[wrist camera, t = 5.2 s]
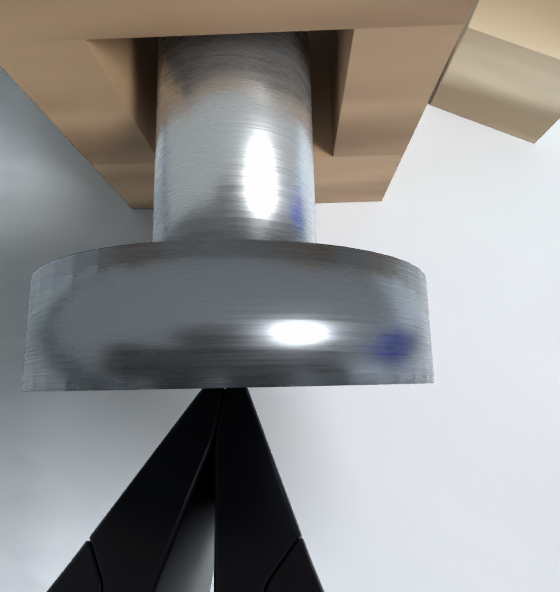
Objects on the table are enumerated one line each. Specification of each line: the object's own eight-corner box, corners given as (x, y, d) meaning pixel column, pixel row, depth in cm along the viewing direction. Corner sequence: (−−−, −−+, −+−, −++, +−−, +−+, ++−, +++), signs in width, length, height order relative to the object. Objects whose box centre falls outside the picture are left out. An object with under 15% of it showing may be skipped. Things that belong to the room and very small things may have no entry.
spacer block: (533, 144, 17) (602, 74, 13) (429, 106, 18) (467, 26, 14) (567, 54, 18) (643, -38, 14) (466, 19, 18) (513, -80, 14)
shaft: (389, 383, 14) (512, 381, 6) (118, 388, 14) (-105, 394, 6) (367, 22, 16) (436, -323, 8) (133, 32, 16) (-18, -296, 8)
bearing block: (381, 201, 17) (499, -50, 7) (132, 208, 17) (-84, -24, 7) (370, 28, 18) (458, -383, 8) (138, 38, 19) (-38, -352, 9)
